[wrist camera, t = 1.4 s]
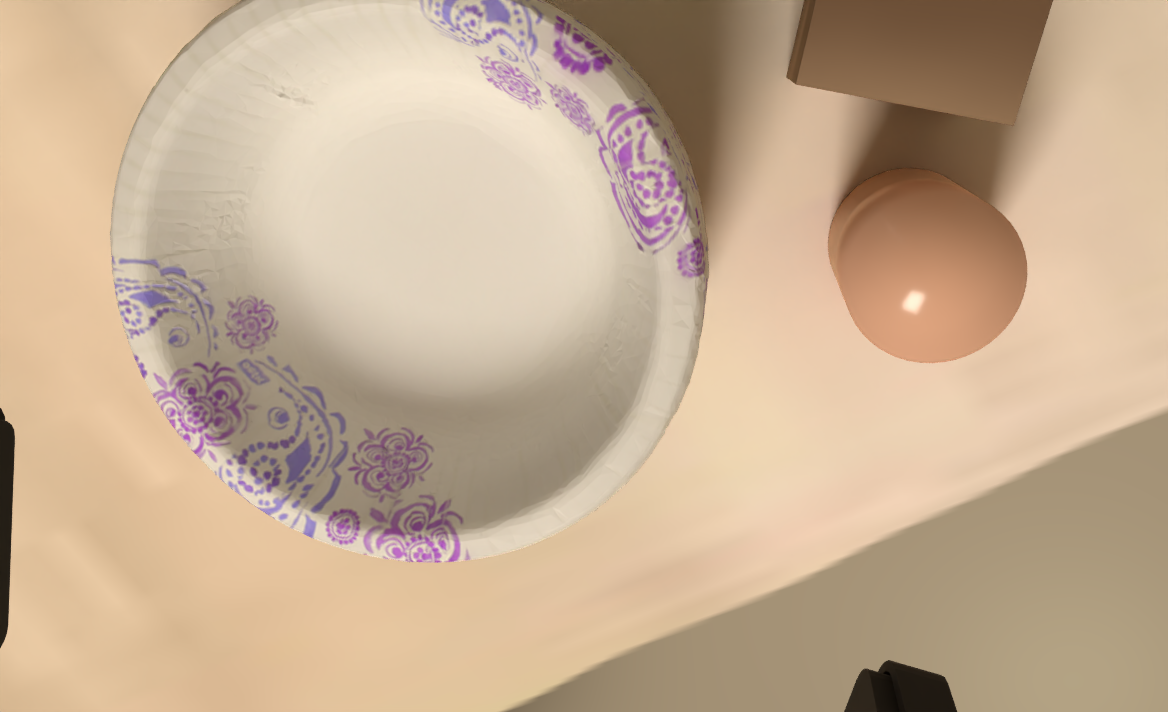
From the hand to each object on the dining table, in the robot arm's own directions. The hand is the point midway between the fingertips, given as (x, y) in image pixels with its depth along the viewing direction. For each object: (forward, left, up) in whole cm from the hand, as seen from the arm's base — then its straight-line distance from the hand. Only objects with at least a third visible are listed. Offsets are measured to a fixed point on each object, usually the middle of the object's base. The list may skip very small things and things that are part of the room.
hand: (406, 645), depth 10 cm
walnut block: (-8, +6, -22) cm, 24 cm away
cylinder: (-2, +8, -22) cm, 23 cm away
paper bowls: (+1, -5, -22) cm, 22 cm away
